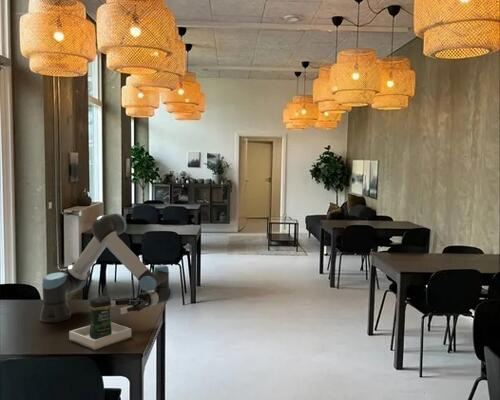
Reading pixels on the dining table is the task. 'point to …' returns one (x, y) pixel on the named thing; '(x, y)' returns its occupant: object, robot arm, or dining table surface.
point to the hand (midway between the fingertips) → (112, 308)
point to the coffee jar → (100, 317)
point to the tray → (84, 338)
